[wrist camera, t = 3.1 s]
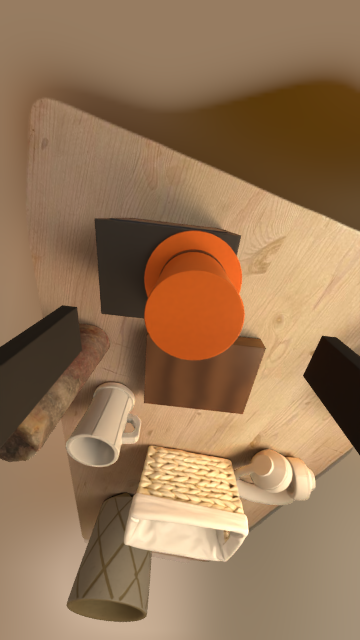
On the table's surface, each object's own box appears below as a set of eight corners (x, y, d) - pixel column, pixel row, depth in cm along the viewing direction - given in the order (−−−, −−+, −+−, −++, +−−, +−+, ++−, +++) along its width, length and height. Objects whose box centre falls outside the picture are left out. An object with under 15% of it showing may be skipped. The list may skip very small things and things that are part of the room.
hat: (144, 318, 24) (120, 370, 16) (147, 224, 19) (115, 229, 11) (229, 328, 24) (249, 385, 16) (251, 236, 20) (295, 250, 11)
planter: (170, 508, 66) (163, 616, 48) (132, 525, 73) (114, 625, 55) (124, 483, 61) (97, 594, 43) (88, 503, 67) (51, 606, 49)
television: (127, 285, 34) (101, 313, 24) (126, 217, 29) (94, 216, 19) (212, 295, 34) (220, 327, 24) (224, 228, 29) (241, 233, 19)
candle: (69, 349, 40) (-29, 455, 22) (70, 316, 37) (-45, 409, 19) (109, 358, 40) (44, 469, 23) (112, 326, 37) (40, 426, 19)
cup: (127, 372, 42) (106, 426, 31) (150, 402, 45) (137, 459, 35) (87, 388, 44) (54, 442, 34) (111, 415, 48) (88, 472, 37)
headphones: (256, 436, 48) (216, 468, 59) (264, 476, 41) (218, 503, 52) (323, 457, 50) (273, 484, 61) (340, 498, 44) (281, 519, 55)
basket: (137, 474, 58) (121, 549, 45) (144, 438, 51) (127, 515, 38) (219, 487, 59) (227, 564, 46) (237, 454, 52) (253, 534, 39)
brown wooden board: (146, 391, 44) (143, 403, 41) (149, 326, 37) (146, 334, 34) (239, 402, 44) (242, 414, 41) (260, 338, 37) (265, 348, 34)
